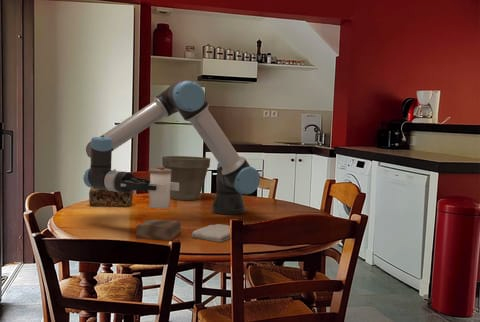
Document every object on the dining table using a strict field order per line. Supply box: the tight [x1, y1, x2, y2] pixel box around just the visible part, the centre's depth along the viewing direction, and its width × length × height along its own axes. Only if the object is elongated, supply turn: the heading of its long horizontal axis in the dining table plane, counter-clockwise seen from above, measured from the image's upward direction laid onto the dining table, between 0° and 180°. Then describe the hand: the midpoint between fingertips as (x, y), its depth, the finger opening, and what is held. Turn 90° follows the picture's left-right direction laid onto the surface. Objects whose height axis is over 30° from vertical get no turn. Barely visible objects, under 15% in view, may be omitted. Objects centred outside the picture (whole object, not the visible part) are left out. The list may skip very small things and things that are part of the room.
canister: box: [148, 165, 172, 209], centre depth 163 cm, size 7×7×14 cm
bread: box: [88, 187, 134, 208], centre depth 219 cm, size 19×11×10 cm, turn 95°
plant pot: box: [161, 155, 211, 201], centre depth 247 cm, size 25×25×22 cm
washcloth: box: [191, 223, 231, 243], centre depth 168 cm, size 12×18×3 cm, turn 153°
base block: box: [136, 218, 181, 241], centre depth 165 cm, size 12×12×4 cm
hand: (171, 188), depth 161 cm, fingers closed on canister, 7 cm apart
